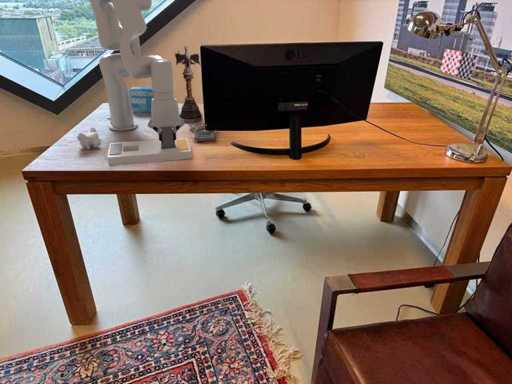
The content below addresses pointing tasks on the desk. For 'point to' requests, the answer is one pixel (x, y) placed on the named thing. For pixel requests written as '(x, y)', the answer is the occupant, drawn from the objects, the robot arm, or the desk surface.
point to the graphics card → (202, 133)
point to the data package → (141, 99)
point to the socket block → (147, 151)
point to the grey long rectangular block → (167, 137)
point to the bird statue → (189, 87)
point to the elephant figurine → (89, 139)
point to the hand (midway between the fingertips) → (167, 141)
